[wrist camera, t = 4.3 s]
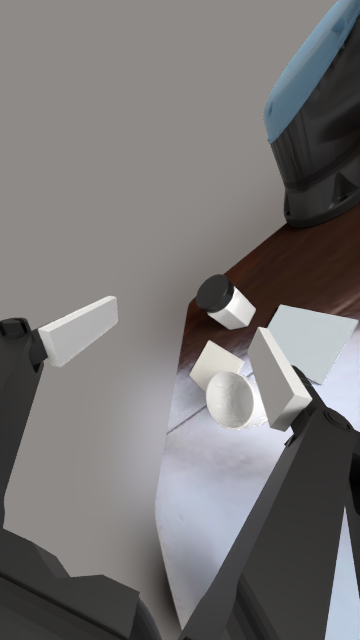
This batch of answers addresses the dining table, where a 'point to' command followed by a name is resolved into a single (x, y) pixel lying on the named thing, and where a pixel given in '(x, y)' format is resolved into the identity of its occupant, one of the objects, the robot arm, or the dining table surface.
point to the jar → (224, 302)
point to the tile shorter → (213, 364)
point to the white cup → (235, 401)
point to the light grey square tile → (311, 339)
